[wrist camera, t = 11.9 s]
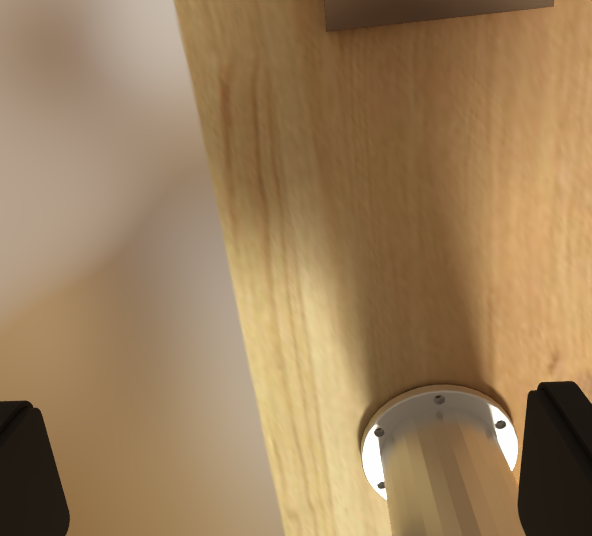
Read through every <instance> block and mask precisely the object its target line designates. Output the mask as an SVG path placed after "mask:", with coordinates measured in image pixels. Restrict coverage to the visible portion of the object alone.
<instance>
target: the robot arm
mask: <svg viewBox="0 0 592 536" xmlns="http://www.w3.org/2000/svg"><path fill="white" fill-rule="evenodd" d="M518 451H519V448H518V437H517V434H516V431H515V428H514V426H513V424H512V422H511V420H510V418H509V416H508V415H507V413H506V412H505V411H504V409H503V408H502V407H501V406H500V405H499V404H498V403H497V402H495V401H494V400H493V399H492V398H490V397H489V396H487V395H485V394H483V393H481V392H479V391H477V390H474V389H470V388H467V387H464V386H457V385H449V384H445V385H430V386H424V387H419V388H416V389H413V390H410V391H407V392H404V393H402V394H400V395H399V396H397V397H395V398H393V399H391V400H390V401H389V402H387V403H386V404H385V405H384V406H382V407H381V408H380V409H379V410H378V411H377V412H376V413H375V415H374V416H373V417H372V418H371V419H370V421H369V423H368V425H367V427H366V429H365V430H364V434H363V437H362V441H361V459H362V466H363V469H364V473H365V476H366V478H367V479H368V481H369V483H370V484H371V486H372V487H373V488H374V489H375V490H376V491H377V492H378V493H379V494H380V495H381V496H382V497H384V498H385V499H386V500H387V504H388V510H389V516H390V523H391V529H392V536H592V404H591V403H590V401H589V400H588V399H587V397H586V396H585V395H584V393H583V392H582V391H581V389H580V388H579V387H578V385H577V384H576V383H575V382H572V381H564V382H541V383H540V384H539V386H538V388H537V390H534V391H530V392H529V394H528V398H527V408H526V419H525V429H524V439H523V450H522V460H521V470H520V481H519V486H518V484H517V482H516V480H515V477H514V475H513V473H512V471H513V469H514V467H515V464H516V462H517V456H518ZM69 522H70V515H69V510H68V506H67V503H66V499H65V495H64V492H63V489H62V485H61V481H60V478H59V474H58V471H57V467H56V463H55V460H54V456H53V453H52V449H51V446H50V442H49V438H48V435H47V431H46V427H45V424H44V420H43V417H42V414H41V411H40V410H39V409H38V408H33V405H32V404H31V403H30V402H28V401H0V536H65V535H66V533H67V531H68V527H69Z"/></svg>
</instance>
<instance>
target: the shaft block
mask: <svg viewBox="0 0 592 536" xmlns="http://www.w3.org/2000/svg"><path fill="white" fill-rule="evenodd" d="M324 5H325V18H326V31H327V32H328V31H337V30H346V29H355V28H364V27H373V26H382V25H391V24H400V23H409V22H418V21H427V20H436V19H445V18H454V17H463V16H472V15H481V14H491V13H500V12H509V11H518V10H527V9H536V8H545V7H554V0H324Z"/></svg>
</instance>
